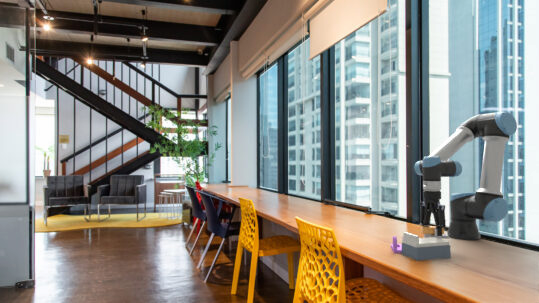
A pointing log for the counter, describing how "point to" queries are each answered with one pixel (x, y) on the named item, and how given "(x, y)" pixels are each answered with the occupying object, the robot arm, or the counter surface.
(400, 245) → the bracket
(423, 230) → the key
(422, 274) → the counter surface
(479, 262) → the counter surface
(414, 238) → the cover
